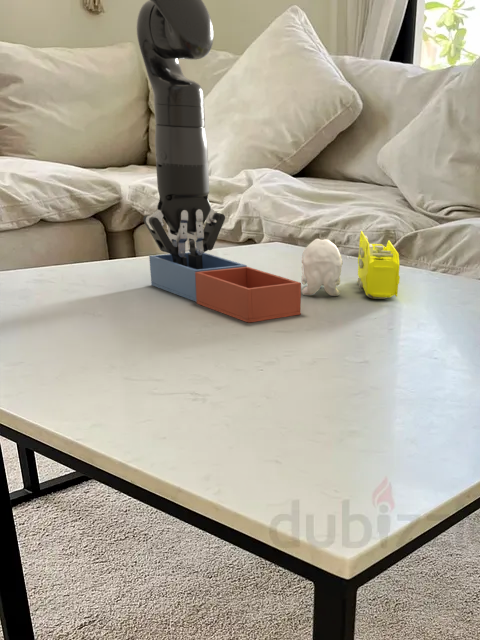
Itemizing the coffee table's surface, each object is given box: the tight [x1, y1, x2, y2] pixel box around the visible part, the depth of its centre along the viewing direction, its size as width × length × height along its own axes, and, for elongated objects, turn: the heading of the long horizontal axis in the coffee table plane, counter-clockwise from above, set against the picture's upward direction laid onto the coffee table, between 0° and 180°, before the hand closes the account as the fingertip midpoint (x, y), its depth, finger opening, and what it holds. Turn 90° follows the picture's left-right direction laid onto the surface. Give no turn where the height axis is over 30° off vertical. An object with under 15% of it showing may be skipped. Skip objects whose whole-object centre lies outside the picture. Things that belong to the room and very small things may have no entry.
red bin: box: [195, 266, 302, 324], centre depth 112 cm, size 9×13×4 cm
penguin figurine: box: [301, 238, 344, 297], centre depth 125 cm, size 6×8×12 cm
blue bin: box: [148, 251, 248, 303], centre depth 121 cm, size 9×13×4 cm
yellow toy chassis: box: [357, 230, 401, 300], centre depth 128 cm, size 16×6×8 cm, turn 6°
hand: (188, 279), depth 123 cm, fingers closed
